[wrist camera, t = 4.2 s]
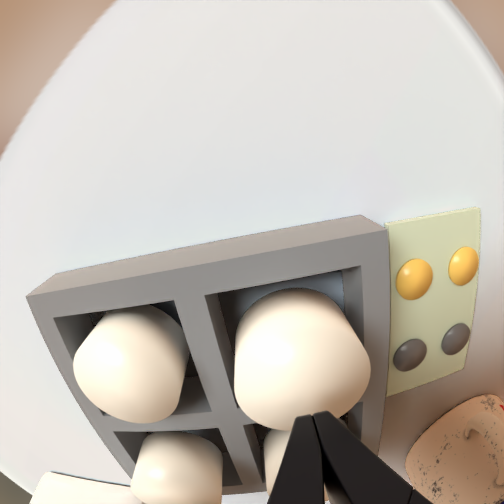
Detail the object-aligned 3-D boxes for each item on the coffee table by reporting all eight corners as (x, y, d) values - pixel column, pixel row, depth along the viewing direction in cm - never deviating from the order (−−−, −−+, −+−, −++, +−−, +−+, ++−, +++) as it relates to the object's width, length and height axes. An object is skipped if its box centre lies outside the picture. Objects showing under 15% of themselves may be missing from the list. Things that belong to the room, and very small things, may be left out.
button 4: (200, 378, 13) (193, 421, 10) (118, 384, 13) (101, 423, 10) (173, 295, 12) (157, 330, 9) (84, 308, 12) (56, 341, 9)
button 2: (348, 369, 12) (368, 414, 9) (247, 390, 12) (248, 439, 9) (343, 277, 10) (370, 313, 8) (224, 299, 10) (219, 342, 8)
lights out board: (449, 406, 15) (467, 431, 13) (151, 463, 16) (144, 494, 13) (474, 196, 12) (510, 205, 9) (55, 273, 12) (25, 296, 10)
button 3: (231, 474, 13) (230, 514, 11) (159, 476, 13) (151, 513, 11) (210, 427, 12) (206, 474, 10) (128, 431, 12) (115, 472, 10)
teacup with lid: (496, 432, 17) (554, 520, 6) (405, 486, 18) (446, 591, 7) (508, 335, 14) (621, 446, 3) (385, 411, 15) (463, 583, 4)
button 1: (347, 454, 13) (359, 492, 11) (270, 469, 13) (273, 510, 11) (348, 404, 12) (365, 447, 10) (256, 422, 12) (259, 469, 10)
